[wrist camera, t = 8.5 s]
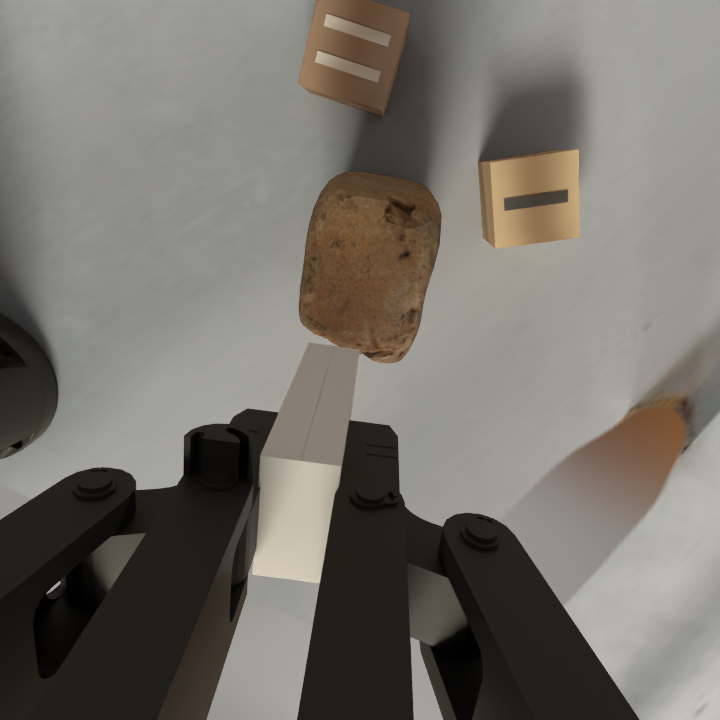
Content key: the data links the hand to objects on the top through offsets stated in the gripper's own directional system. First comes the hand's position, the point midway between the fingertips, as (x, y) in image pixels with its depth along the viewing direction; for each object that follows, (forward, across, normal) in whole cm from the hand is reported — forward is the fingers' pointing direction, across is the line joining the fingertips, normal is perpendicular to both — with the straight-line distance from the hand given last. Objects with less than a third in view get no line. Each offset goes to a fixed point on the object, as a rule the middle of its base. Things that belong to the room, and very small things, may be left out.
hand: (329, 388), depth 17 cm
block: (+32, +1, 0) cm, 32 cm away
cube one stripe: (+32, +12, +5) cm, 34 cm away
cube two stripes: (+32, -2, +13) cm, 35 cm away
